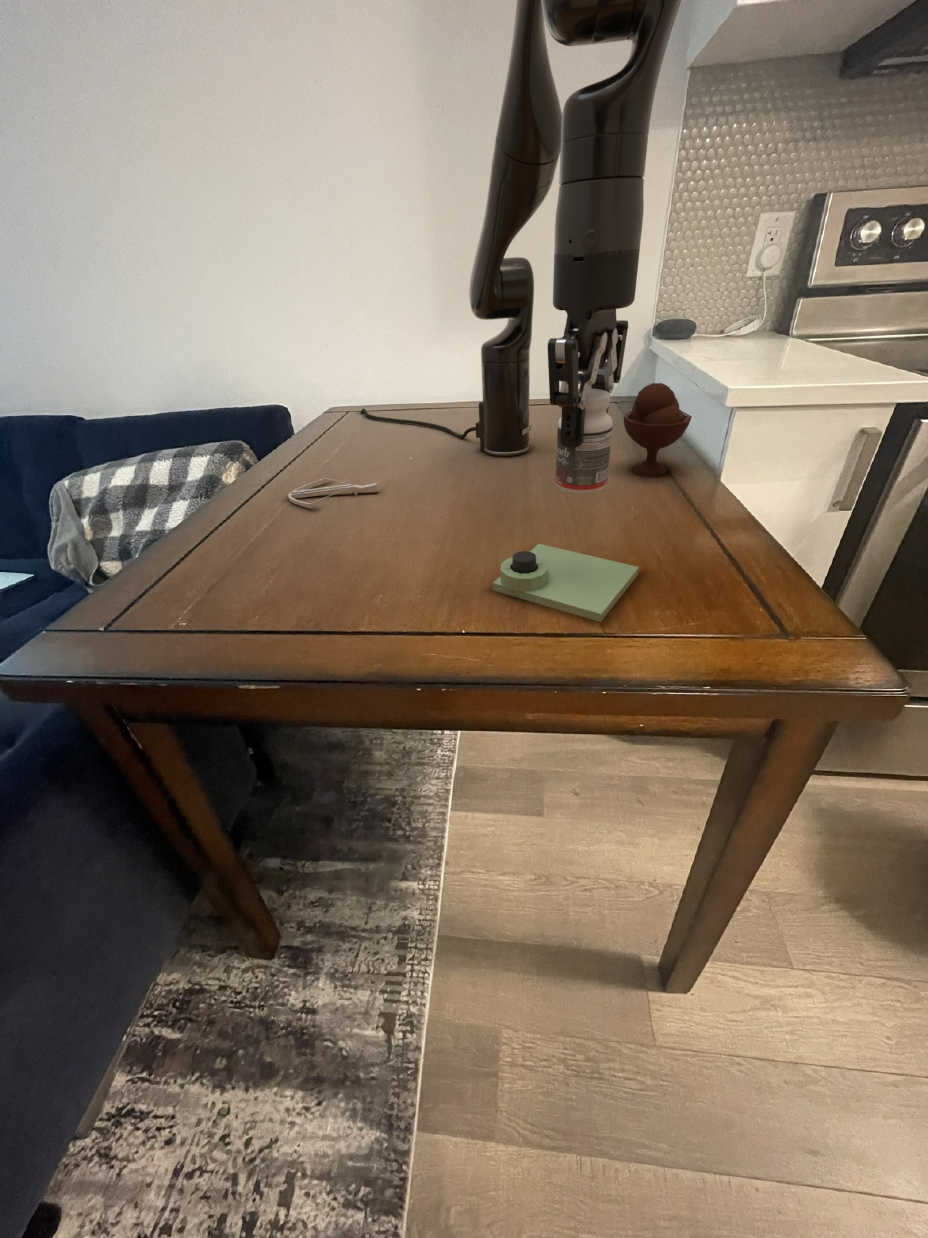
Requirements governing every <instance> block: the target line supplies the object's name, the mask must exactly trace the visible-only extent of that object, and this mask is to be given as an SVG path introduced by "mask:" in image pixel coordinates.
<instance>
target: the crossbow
mask: <svg viewBox="0 0 928 1238" xmlns="http://www.w3.org/2000/svg"><path fill="white" fill-rule="evenodd" d="M328 480H330V481H334V482H337V483H341V485H333V486H325V487H317V486H319V485H322V484H325V483H327V482H328ZM314 487H317V488H314ZM379 490H380V489H379V484H378V482H374V483H369V484H365V485H360V484H354V483H347V482H343V481H339V480H335V479H332V478H328V477H322V478H321V479H318V480H315V481H312V482H309V483H307V484H304V485H302V486H300V487H298V488H295V489H294V490H291V491H290V492H288V494H287V497H288V500H289V501H290V503H293V504H294V505H297V506H300V507H304V508H309V509H314V507H313V505H312V504H314V503H317V502H319V501H321V500H323V499H326V498H328V497H331V496H333V495H336V494H341V493H347V492H349V493H350V492H351V493H352V494H354V495H355V496H358V492H359V493H376V492H377V493H378V492H379ZM325 495H326V496H325ZM327 495H328V496H327ZM317 496H325V497H322V498H320V499H317V500H315V501H313V502H305V501H302V500H298V499H302V498H310V497H317Z"/></svg>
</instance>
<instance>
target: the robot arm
mask: <svg viewBox="0 0 928 1238" xmlns="http://www.w3.org/2000/svg"><path fill="white" fill-rule="evenodd" d="M681 3H682V0H516V7H515V16H514V23H513V32H512V39H511V47H510V53H509V54H510V55H509V62H508V68H507V74H506V79H505V85H504V91H503V95H502V100H501V107H500V112H499V117H498V123H497V129H496V133H495V139H494V146H493V153H492V158H491V165H490V175H489V183H488V189H487V195H486V196H487V197H486V203H485V204H486V205H485V210H484V216H483V219H482V220H483V221H482V225H481V229H480V234H479V238H478V242H477V247H476V250H475V255H474V259H473V263H472V267H471V268H472V269H471V273H470V279H469V289H468V290H469V291H468V297H469V298H468V299H469V306H470V309H471V312H472V314H473V315H474V317H475V318H477V319H479V320H482V321H493V320H502V319H507V323H506V325H505V327H504V328H503V329H502V330H501V331H500V332H499V333H498V334H496V335H494V336H493V337H492V338H490V339H488V340H486V341H484V342H483V343H482V344H481V347H480V360H481V361H480V367H481V391H482V392H481V393H482V401H480V402H478V421H476V422H475V426H472V427H468V428H467V429H466V430H465V431H464V432H463V434H459V433H456V432H455V431H453V430H452V429H450V428H448V427H446V426H444V425H440V424H437V423H436V424H435V423H432V422H431V423H430V422H425V421H421V420H411V419H401V418H392V417H386V416H385V417H384V416H378V415H377V416H376V415H373V414H370V413H368V412H367V410H366V408H362V409H361V410H360V414H361V415H363V414H364V415H365V417H367V418H369V419H372V420H376V421H377V420H378V421H385V422H392V423H400V424H410V425H419V426H424V427H429V428H434V429H438V430H442V431H445V432H447V433H448V434H450V435H452V436H454V437H455V438H457V439H465V438H466V437H467V436H468V434H469V433H471V432H475V438H476V439H479V450H480V452H483V453H485V454H487V455H490V456H496V457H513V456H519V455H523V454H526V453H527V452H528V451H529V450H530V432H531V431H532V424H530V385H531V384H530V383H531V382H530V380H531V379H530V377H531V375H530V374H531V373H530V371H531V370H530V369H531V367H530V366H531V365H530V363H531V358H530V357H531V345H532V338H533V317H534V315H533V314H534V300H535V299H534V298H535V276H534V270H533V267H532V264H531V262H530V260H528V258H526V257H522V256H518V257H517V256H514V257H513V256H512V257H505V256H506V253H507V251H508V249H509V247H510V245H511V244H512V243H513V241H514V239H515V238H516V237H517V235H518V234H519V233H520V231H522V229H523V228H524V227H525V226H526V224H527V223H528V222H529V221H530V220H531V218H532V217H533V216H535V214H536V213H537V211H538V210H539V208H540V207H541V206H542V204H543V202H544V201H545V199H546V198H547V196H548V194H549V192H550V191H551V188H552V185H553V182H554V177H555V173H556V170H557V166H558V162H559V181H558V182H559V184H558V185H559V187H558V195H557V196H558V197H557V204H556V211H555V219H554V220H555V221H554V222H555V223H554V250H553V251H554V252H553V253H554V254H553V283H552V285H553V286H552V306H553V307H554V309H556V310H558V311H565V313H566V319H565V320H566V321H565V326H564V331H563V336H561V337H558V338H557V337H551V338H549V339H548V342H547V367H548V368H547V369H548V389H549V404H550V405H551V406H558V407H559V408H561V416H562V418H561V417H560V418H561V444H562V445H564V446H570V447H578V446H580V445H581V444H582V443H583V435H584V420H585V408H584V407H585V404H586V399H587V394H588V390H589V389H600V390H605V391H608V392H609V393H610V394H612V393H613V391H614V389H615V384H619V383H620V381H621V378H622V370H623V364H624V358H625V357H624V356H625V352H626V351H625V349H626V343H627V337H628V331H629V321H628V320H624V319H621V320H620V319H619V320H617V310H618V309H624V308H627V307H630V306H632V305H633V304H634V302H635V298H636V289H637V280H638V271H639V270H638V269H639V261H640V251H641V241H642V231H643V223H644V222H643V221H644V206H645V205H644V203H645V201H644V183H645V179H644V177H645V171H646V163H647V154H648V153H647V152H648V143H649V133H650V132H649V131H650V123H651V116H652V109H653V103H654V99H655V93H656V91H657V90H656V89H657V86H658V81H659V76H660V72H661V68H662V65H663V61H664V56H665V53H666V51H667V46H668V43H669V40H670V36H671V34H672V30H673V28H674V25H675V22H676V18H677V15H678V12H679V9H680V6H681ZM545 26H546V27H545ZM546 28H547V31H548V32H549V34H550V36H551V37H552V38H553V40H555V41H556V42H557V43H558V44H560V45H563V46H565V47H584V46H591V45H600V44H601V45H602V44H612V43H613V44H614V43H623V42H626V41H627V42H631V49H630V53H629V57H628V60H627V62H626V63H625V65H624V66H623V67H622V68H621V69H620V70H619V71H617V72H616V73H614V74H613V75H611V76H609V77H607V78H604V79H602V80H599V81H596V82H594V83H591V84H588V85H586V86H583V87H582V88H581V87H580V89H577V90H576V91H574V92H572V94H570V95H569V96H568V98H566V101H565V103H564V105H563V108H562V107H561V104H560V98H559V95H558V90H557V87H556V84H555V79H554V76H553V71H552V68H551V63H550V58H549V51H548V45H547V38H546ZM560 382H561V383H560ZM578 389H579V393H578ZM609 407H610V405H609V406H608V408H607V409H606V413H607V414H609V410H610V409H609Z"/></svg>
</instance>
